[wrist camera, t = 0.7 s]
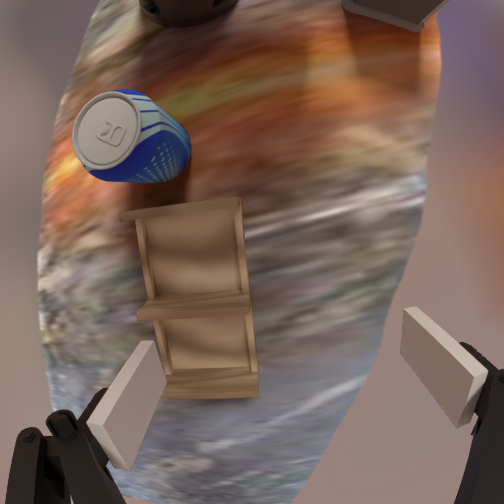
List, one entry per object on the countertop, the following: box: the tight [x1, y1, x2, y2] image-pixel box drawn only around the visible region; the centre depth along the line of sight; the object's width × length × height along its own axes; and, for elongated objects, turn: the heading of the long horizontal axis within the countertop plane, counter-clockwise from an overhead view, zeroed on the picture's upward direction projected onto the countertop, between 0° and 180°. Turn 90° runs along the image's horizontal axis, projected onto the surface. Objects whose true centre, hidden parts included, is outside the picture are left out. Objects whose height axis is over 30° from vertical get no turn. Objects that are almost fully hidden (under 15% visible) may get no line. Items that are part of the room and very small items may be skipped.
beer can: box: [72, 89, 191, 184], centre depth 28 cm, size 8×8×16 cm
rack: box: [119, 197, 259, 399], centre depth 36 cm, size 24×13×7 cm, turn 6°
